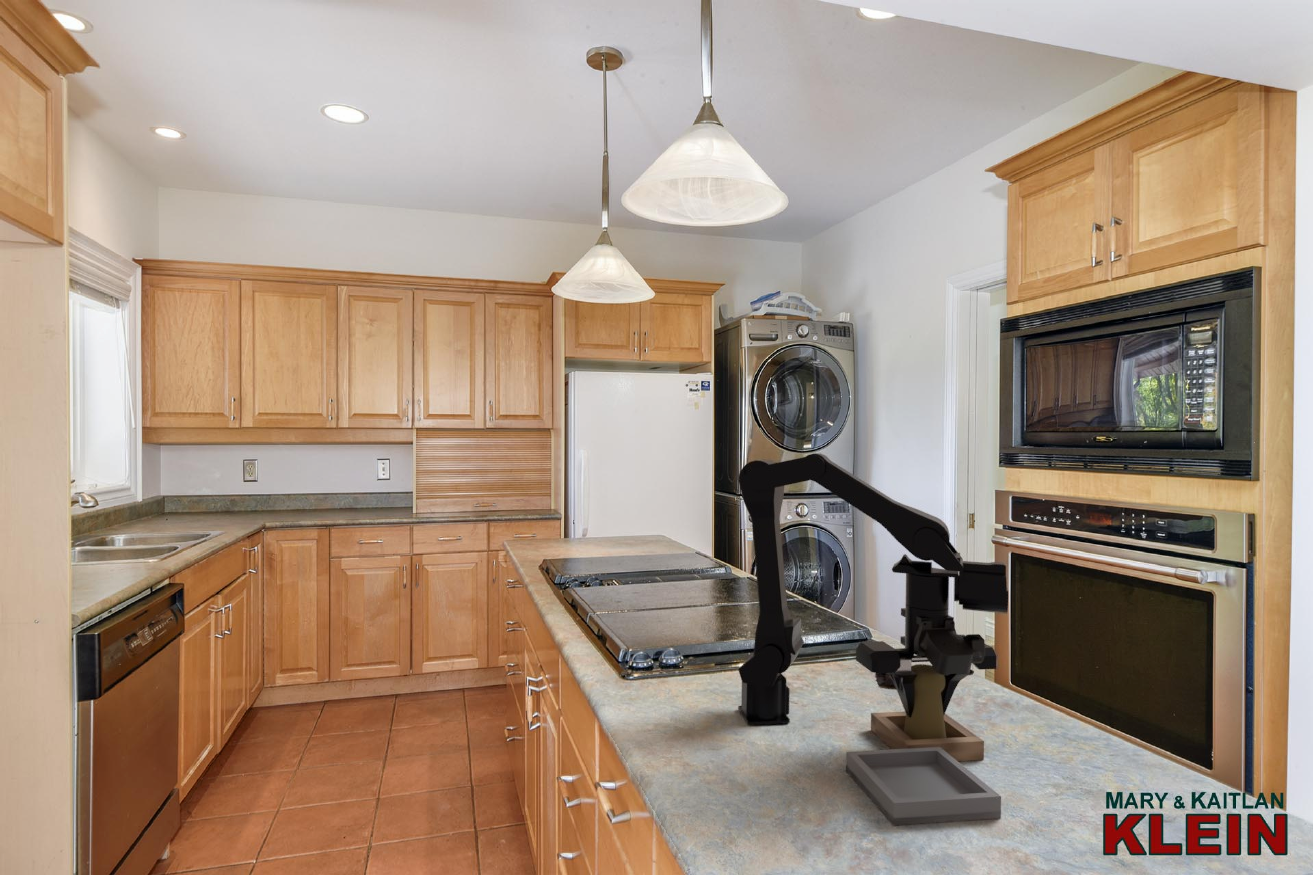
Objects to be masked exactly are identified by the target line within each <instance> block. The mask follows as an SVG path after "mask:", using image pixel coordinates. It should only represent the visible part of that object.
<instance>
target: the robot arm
mask: <svg viewBox="0 0 1313 875" xmlns="http://www.w3.org/2000/svg"><path fill="white" fill-rule="evenodd" d="M808 481H813V482H815V483H816V484H817V485H819V486H821V487H822V488H824V489H826V490H827V491H828V492H830V493H832V494H833V495H835V496H837V497H838V498H839V499H841V500H843V501H844V502H847V504H849V505H851V506H852V507H853V508H855V509H856V510H859V511H860V512H861V513H863V514H865V515H866V516H867V517H869V518H871V519H872V520H873V521H876V522H877V523H879V525H881V526H882V527H883V528H884V529H885V530H887V532H888V533H890V536H892V537H893V538H894V539H895V540H896V541H897V542H898V543H899V544H900V545H901V546H902V547H904V548H905V549H906V550H907V551H908V552H909V553H910V554H911V555H913V557H915V558H917V559H919V560H912V559H911V558H909V556H908V555H907V554H905V553H904V554H903V555H902V557H901V558H900V560H898V561H897V562H896V563H893V566H892V568H891V570H892V572H893V573H897V574H905V606H904V608H903V607H902V608H901V607H900V616H902V617H904V618H905V619H904V622H905V624H904V636H900V644H901V645H902V646H904V648H902V647H901V648H895V647H893V646H891V645H889V644H888V643H886V642H885V641H883V640H881V641H880V640H879V641H861V642H860V643H859V644H858V645H857V647H856V648H855V661H856V662H858V663H859V664H860V665H862V666H863V667H864V668H865V669H867V670H868V671H870V672H871V673H874V674H875V673H889V674H890V676H891V678H892V680H893V682H894V684H895V687H896V689H895V690H896V691H897V694H898V696H899V700H900V702H901V704H902V707H903V709H904V712H906V714H907V716H909V717H911V716H912V712H913V709H914V701H913V682H914V680H915V678H916V677H917V674H916V673H914V672H913V671H911V666H912V663H930V665H931V666H933V668H934V670H935V671H936V672H937V673H939V674H941V675H944V676H945V687H944V689H943V691H942V692H941V698H942V706H943V714H946V712H947V709H948V707H949V705H950V702H951V700H952V697H953V694H954V692H955V691H956V689H957V687H958V685H959V683H960V682H961V680H964V679H965V678H967V676H968V677H969V676H973V675H974V673H975V671H974V670H973V669H971V668H972V665H973V666H974V667H975V668H976V669H978V670H997V669H998V665H999V664H998V663H999V662H998V656H999V655H998V654H997V652H996V650H995V649H994V647H993V646H990V645H989V644H986V643H985V641H986V640H985V638H983V637H982V635H981V634H979V633H976V634H974V633H973V634H966V635H965V634H958V633H957V630H956V625H955V624H956V623H955V618H954V616H951V615H949V609H950V607H949V603H950V602H949V601H950V600H949V598H950V578H954V581H953V582H954V583H953V584H954V586H953V602H958V605H961V606H962V607H961V608H962V610H966V611H976V612H984V613H985V612H987V613H995V614H996V613H997V614H1006V615H1007V614H1008V611H1009V610H1008V608H1009V589H1008V587H1007V584H1008V583H1007V566H1006V563H1004V562H1001V561H1000V562H999V561H998V562H997V561H991V562H979V561H968V560H963V557H962V556H961V553H960V552H958V550H957V549H956V548H955V547H954V545H953V543H951V541H950V538H951V537H950V536H951V535H950V530H949V527H948V526H947V524H946V523H945V521H943V520H942V519H941V518H939V517H937V516H935V515H932V514H930V513H928V512H926V511H922V510H920V509H917V508H915V507H912V506H909V505H906V504H904V503H901V502H898V501H896V500H895V499H892V498H891V497H890V496H888V495H887V494H885V493H883V492H881V491H880V490H879V489H877V488H876V487H874V486H872V485H871V484H869V483H867V482H865V480H862V479H861V478H859V477H858V476H856V475H855V474H853V473H851V471H848V470H847V469H844V468H843V467H841V466H840V465H838V464H837V463H835V462H833V461H832V460H831V459H830V458H829V457H828V456H827V455H825V454H823V453H821V452H819V453H809V454H807V455H805V456H803V457H799V458H798V457H797V458H792V459H788V460H785V461H780V462H776V461H775V460H772V459H757V460H756V459H755V460H752V461H749V462H747V463H745V465H744V466H743V467H742V468H741V470H740V471H739V473H738V484H739V489H740V493H741V495H742V496H741V497H742V500H743V503H744V505H745V507H746V511H747V512H748V514H749V517H750V520H751V526H752V538H753V548H754V549H753V550H754V561H755V572H756V574H755V575H756V584H757V596H758V607H759V613H758V614H759V615H758V618H757V622H756V623H757V624H756V628H755V633H754V645H753V653H752V654H751V655H750V656H749V657H748V659H746V660H745V662H743V664H742V665H741V666H740V667H739V668H738V672H739V673H738V674H739V676H740V679H741V705H738V707H737V709H738V711H739V713H740V714H741V716H742V717H743V718H744V720H745V722H746V723H747V724H748V725H749V726H754V725H755V726H756V725H773V724H775V725H776V724H780V725H781V724H789V723H790V721H791V720H790V718H789V717H788V715H789V714H790V695H791V694H790V687H788V686H787V678H786V676H785V675H784V674H783V673H785V672H786V671H787V670H788V669H789V668H790V667H791V665H792V664H793V663H794V661H796V658H797V657H798V655H799V654H800V650H801V648H802V646H803V645H804V643H805V640H804V639H803V637H802V633H801V632H802V631H801V630H802V629H801V628H802V618H801V617H796V618H793V617H792V615H791V613H790V611H789V610H790V609H789V607H788V598H787V589H786V578H785V566H784V555H783V554H784V553H783V552H784V551H783V543H782V542H783V541H782V531H781V519H780V518H781V517H780V516H781V512H782V506H783V501H784V496H785V495H784V494H785V486H791V485H794V484H798V483H803V482H808ZM920 560H921V561H920ZM932 561H933V562H934V563H935V564H937V565H938V566H940V567H941V568H936V567H933V563H932Z"/></svg>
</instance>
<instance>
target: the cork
mask: <svg viewBox="0 0 1313 875" xmlns="http://www.w3.org/2000/svg"><path fill="white" fill-rule="evenodd" d="M911 671H913V672H914V673H916V674H917V677H916V678H915V680H914V682H913V701H914V709H913V712H912V716H911V717H909V716H907V714H906V720H905V726H904V733H905V734H906V735H908V736H909V737H910V738H911V739H912V740H918V739H938V738H946V731H945V723H944V714H943V706H942V698H941V692H942V691H943V689H944V687H945V676H944V675H941V674H939V673H937V672H936V671H935V670H934V668H933V666H932V664H923V663H917V664H912V665H911Z"/></svg>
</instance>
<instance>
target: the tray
mask: <svg viewBox="0 0 1313 875" xmlns="http://www.w3.org/2000/svg"><path fill="white" fill-rule="evenodd" d="M845 756H846V758H845V759H846V760H845V763H846V764H845V765H846V766H845V770H846V772H847V774H848V775H849V776H850V777H851V778H852V779H853V781H854V782H855V783H856V784H857V785H858V786H859V788H860V789H862V791H863V792H864V793H865V794H866V795H867V797H868V798H869V799H870V800H871V802H873V804H874V805H875V806H876V807H877V808H878V809H879V810H880V812H882V814H883V815H884V816H885V817H886V819H887V820H888V821H889V822H890V823H891V825H892V826H905V825H919V824H920V825H921V824H922V825H923V824H932V823H933V824H937V823H948V822H949V823H950V822H951V823H953V822H961V821H962V822H964V821H967V822H968V821H979V820H980V821H981V820H992V819H993V820H994V819H1002V817H1001V816H1002V796H1001V795H1000V794H999V793H997V791H995V790H994V789H993V788H991V787H990V786H989V785H988V784H987V783H985V782H984V781H983V780H982V779H980V778H979V777H978V776H977V775H976V774H974V773H973V772H972V771H970V770H969V769H968V768H967V767H965V766H964V765H963V764H962V763H960V761H957V760H955V759H954V758H953V757H952V756H950V755H949V754H948V753H947V752H946V751H944V750H943V749H942V748H941V747H928V748H909V749H891V748H890V749H874V750H856V751H855V750H854V751H853V750H852V751H846V755H845Z"/></svg>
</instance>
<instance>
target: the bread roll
mask: <svg viewBox="0 0 1313 875" xmlns="http://www.w3.org/2000/svg"><path fill="white" fill-rule="evenodd" d="M874 675H875V678H876V682H877V685H878V686H880V687H881V688H883V689H888V690H897V689H896V687H895V684H894V682H893V680H892V678H891V676H890V674H889V673H874Z"/></svg>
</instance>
